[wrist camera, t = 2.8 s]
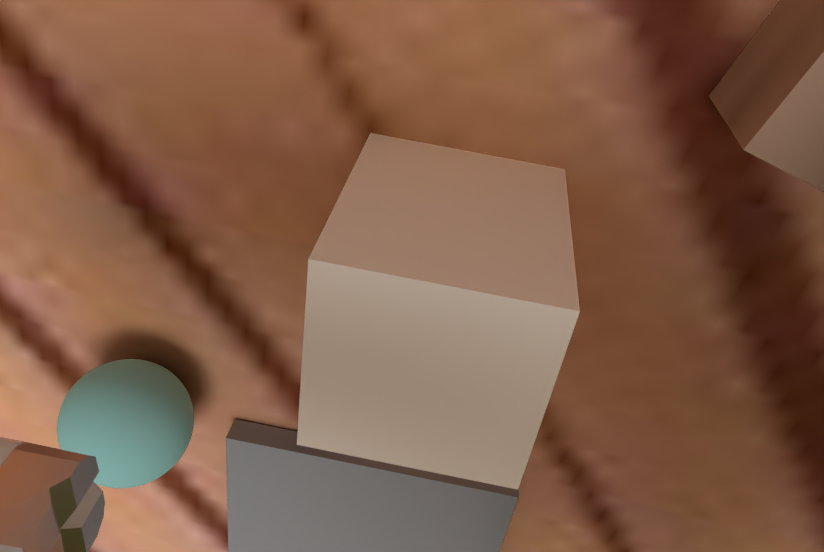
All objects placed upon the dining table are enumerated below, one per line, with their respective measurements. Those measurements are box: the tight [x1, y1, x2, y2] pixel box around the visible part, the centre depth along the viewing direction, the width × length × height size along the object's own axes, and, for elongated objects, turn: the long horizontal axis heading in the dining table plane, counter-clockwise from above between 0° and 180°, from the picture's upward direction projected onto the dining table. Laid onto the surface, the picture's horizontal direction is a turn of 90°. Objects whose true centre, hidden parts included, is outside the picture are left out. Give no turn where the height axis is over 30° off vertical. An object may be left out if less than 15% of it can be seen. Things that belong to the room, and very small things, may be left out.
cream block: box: [297, 133, 580, 490], centre depth 15 cm, size 4×4×6 cm
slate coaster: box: [226, 419, 518, 552], centre depth 24 cm, size 9×9×1 cm
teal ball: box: [57, 359, 194, 488], centre depth 20 cm, size 4×4×4 cm
